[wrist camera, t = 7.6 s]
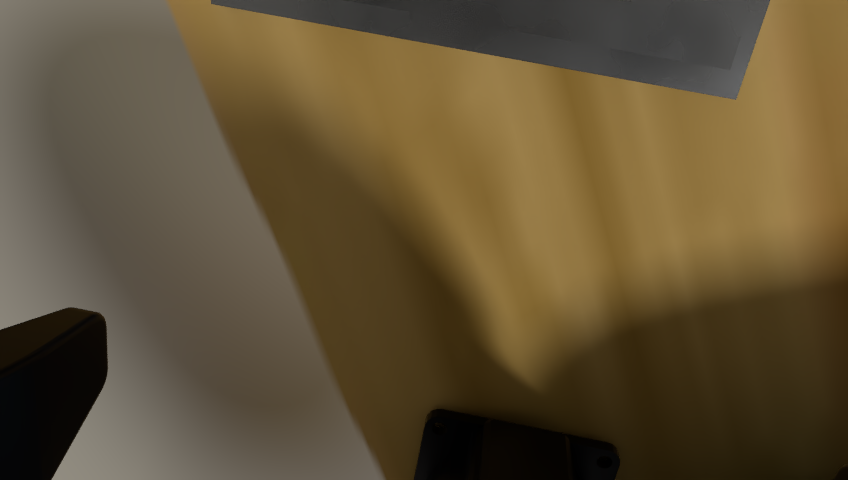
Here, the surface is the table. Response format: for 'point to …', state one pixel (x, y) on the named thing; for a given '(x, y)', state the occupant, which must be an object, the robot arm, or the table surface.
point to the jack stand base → (565, 33)
